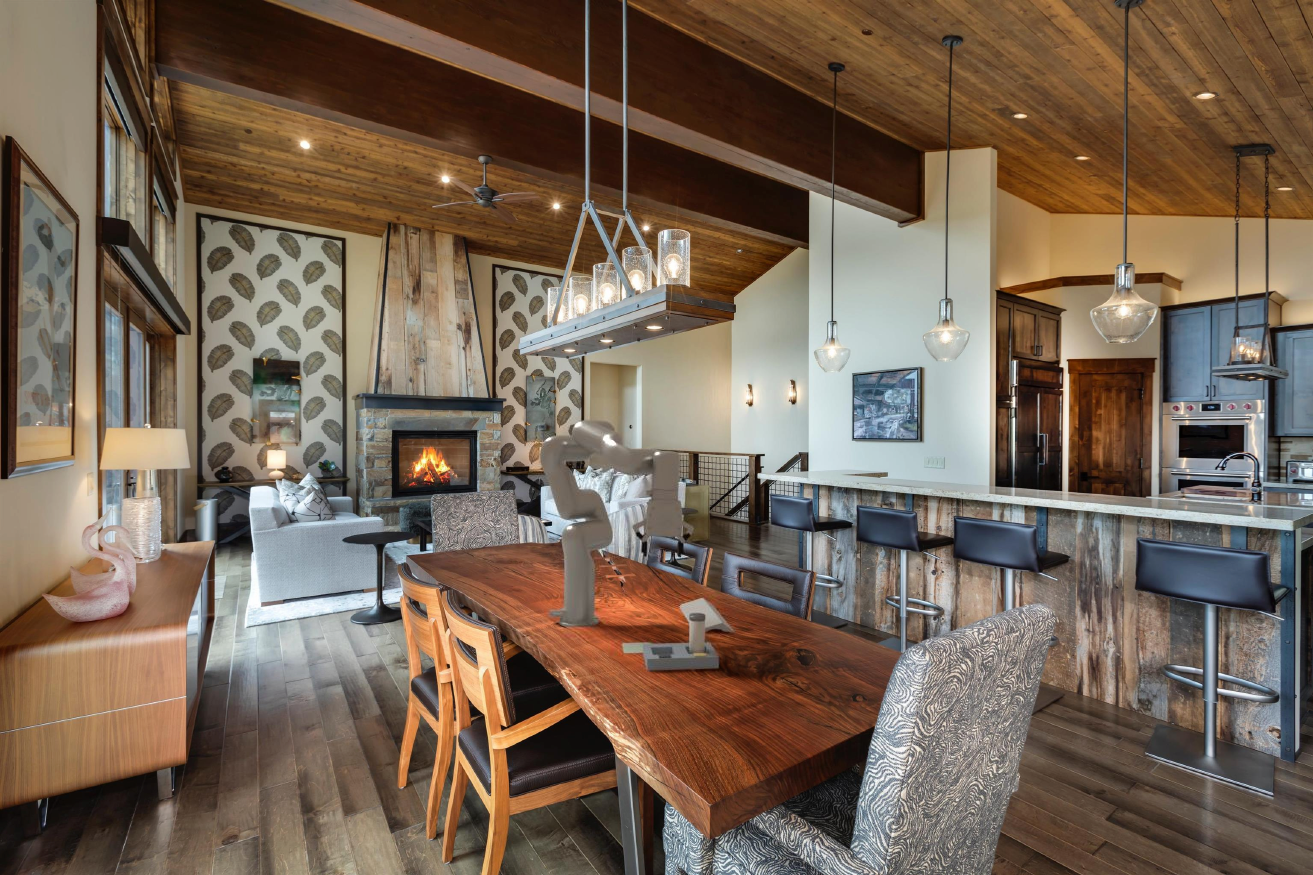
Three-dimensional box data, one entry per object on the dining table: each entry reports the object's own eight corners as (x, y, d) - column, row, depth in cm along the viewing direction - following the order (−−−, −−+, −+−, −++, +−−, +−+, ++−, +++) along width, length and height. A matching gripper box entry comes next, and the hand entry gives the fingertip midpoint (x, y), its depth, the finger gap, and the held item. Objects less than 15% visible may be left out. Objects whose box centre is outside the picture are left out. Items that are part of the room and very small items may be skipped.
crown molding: (679, 608, 216) (679, 598, 216) (713, 607, 218) (713, 597, 218) (696, 635, 187) (696, 623, 187) (735, 634, 189) (735, 622, 189)
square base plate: (623, 657, 166) (623, 653, 166) (621, 647, 174) (621, 643, 174) (653, 656, 167) (653, 652, 167) (650, 646, 175) (650, 642, 175)
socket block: (647, 674, 154) (647, 657, 154) (642, 659, 165) (643, 642, 165) (718, 672, 156) (718, 655, 156) (709, 657, 167) (709, 641, 167)
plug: (690, 668, 159) (690, 617, 159) (687, 662, 163) (688, 612, 163) (706, 667, 160) (706, 617, 160) (703, 661, 164) (703, 612, 164)
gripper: (634, 495, 170) (632, 558, 170) (697, 497, 172) (694, 559, 172) (633, 492, 177) (630, 552, 178) (693, 494, 179) (690, 553, 180)
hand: (662, 555), depth 175 cm, fingers open, 9 cm apart
